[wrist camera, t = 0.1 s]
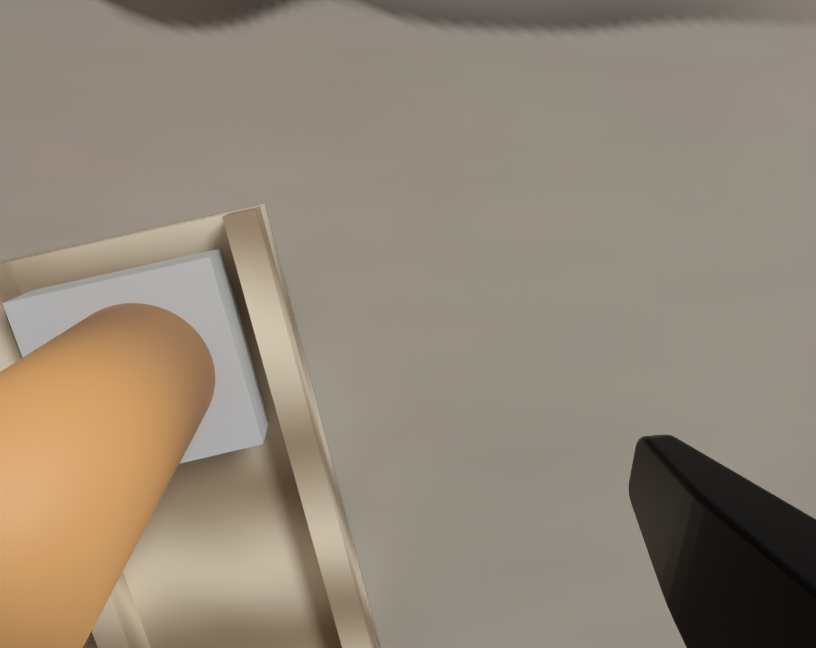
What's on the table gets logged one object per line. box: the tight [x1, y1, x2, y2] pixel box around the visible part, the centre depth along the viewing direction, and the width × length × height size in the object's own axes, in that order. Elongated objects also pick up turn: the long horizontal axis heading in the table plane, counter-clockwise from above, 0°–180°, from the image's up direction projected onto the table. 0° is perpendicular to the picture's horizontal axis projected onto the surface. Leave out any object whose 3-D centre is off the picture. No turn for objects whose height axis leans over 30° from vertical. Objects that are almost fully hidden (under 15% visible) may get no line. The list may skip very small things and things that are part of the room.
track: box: [0, 204, 380, 648], centre depth 24 cm, size 20×9×3 cm, turn 12°
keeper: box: [0, 248, 269, 648], centre depth 16 cm, size 6×6×12 cm
